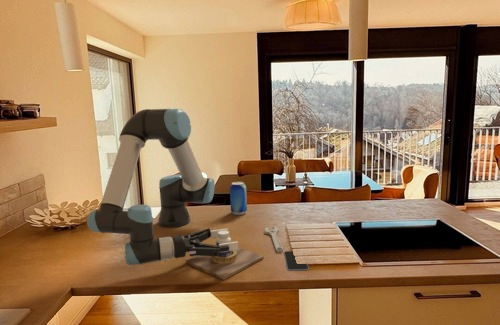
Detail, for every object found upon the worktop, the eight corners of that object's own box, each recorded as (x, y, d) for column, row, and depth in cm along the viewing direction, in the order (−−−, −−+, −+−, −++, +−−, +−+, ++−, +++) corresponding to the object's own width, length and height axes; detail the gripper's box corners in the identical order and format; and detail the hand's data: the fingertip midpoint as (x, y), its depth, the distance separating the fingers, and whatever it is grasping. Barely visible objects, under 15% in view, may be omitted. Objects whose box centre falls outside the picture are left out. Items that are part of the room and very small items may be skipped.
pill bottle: (217, 255, 127) (215, 230, 126) (231, 254, 128) (230, 229, 126) (216, 261, 122) (215, 235, 120) (232, 260, 122) (231, 234, 121)
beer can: (249, 210, 183) (248, 181, 180) (243, 215, 175) (242, 185, 172) (234, 209, 185) (233, 180, 183) (228, 214, 178) (227, 184, 175)
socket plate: (185, 262, 124) (185, 254, 124) (225, 245, 139) (225, 238, 138) (223, 280, 111) (223, 271, 110) (263, 258, 125) (263, 250, 125)
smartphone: (302, 250, 130) (309, 268, 116) (302, 252, 131) (309, 271, 116) (283, 251, 131) (287, 269, 116) (283, 253, 131) (287, 271, 116)
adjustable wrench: (283, 253, 130) (283, 249, 130) (266, 254, 130) (266, 249, 130) (278, 229, 155) (278, 225, 155) (264, 230, 155) (264, 226, 155)
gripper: (170, 244, 130) (224, 236, 137) (177, 274, 107) (242, 262, 113) (168, 225, 129) (223, 218, 136) (176, 251, 106) (242, 241, 112)
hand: (232, 238), depth 124 cm, fingers open, 13 cm apart
